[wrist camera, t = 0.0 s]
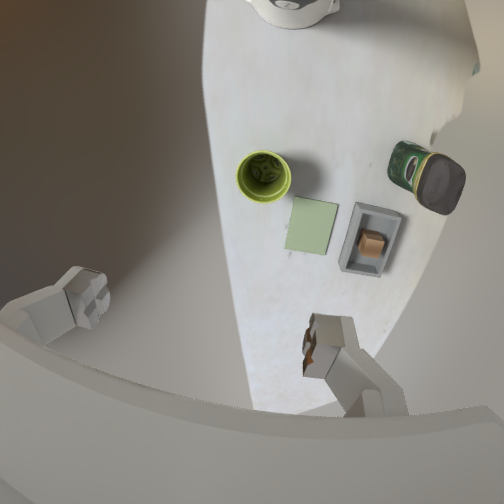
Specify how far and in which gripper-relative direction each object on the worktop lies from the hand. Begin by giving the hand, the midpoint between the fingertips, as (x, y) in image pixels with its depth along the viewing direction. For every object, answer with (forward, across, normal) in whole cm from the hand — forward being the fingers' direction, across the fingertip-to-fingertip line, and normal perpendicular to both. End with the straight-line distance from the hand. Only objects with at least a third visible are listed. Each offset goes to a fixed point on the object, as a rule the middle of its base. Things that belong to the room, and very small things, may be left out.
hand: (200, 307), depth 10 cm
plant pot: (+48, 0, +5) cm, 48 cm away
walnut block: (+48, -24, +16) cm, 56 cm away
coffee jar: (+48, -28, -2) cm, 56 cm away
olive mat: (+48, -11, +16) cm, 52 cm away
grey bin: (+48, -24, +16) cm, 56 cm away
